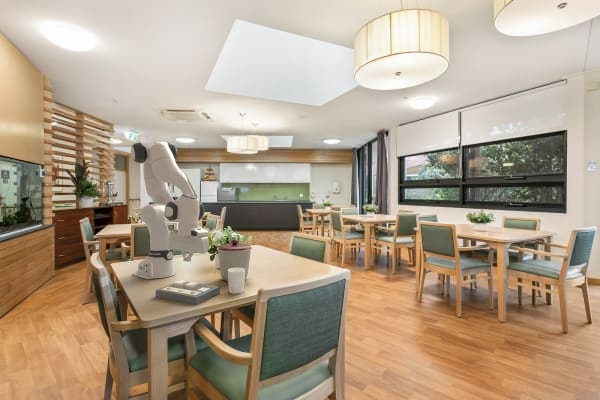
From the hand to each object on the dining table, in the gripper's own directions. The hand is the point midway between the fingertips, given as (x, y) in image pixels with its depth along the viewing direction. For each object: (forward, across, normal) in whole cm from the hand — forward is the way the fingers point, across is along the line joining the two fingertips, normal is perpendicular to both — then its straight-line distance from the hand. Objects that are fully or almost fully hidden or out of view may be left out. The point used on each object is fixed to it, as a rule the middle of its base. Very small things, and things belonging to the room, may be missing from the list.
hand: (187, 261), depth 132 cm
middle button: (+12, +4, -1) cm, 13 cm away
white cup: (+14, +20, +10) cm, 26 cm away
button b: (+13, +10, -1) cm, 17 cm away
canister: (+14, +8, +26) cm, 31 cm away
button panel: (+14, +4, -3) cm, 15 cm away
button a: (+12, -3, 0) cm, 13 cm away
